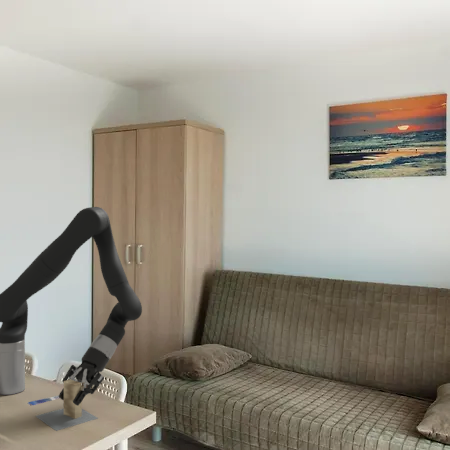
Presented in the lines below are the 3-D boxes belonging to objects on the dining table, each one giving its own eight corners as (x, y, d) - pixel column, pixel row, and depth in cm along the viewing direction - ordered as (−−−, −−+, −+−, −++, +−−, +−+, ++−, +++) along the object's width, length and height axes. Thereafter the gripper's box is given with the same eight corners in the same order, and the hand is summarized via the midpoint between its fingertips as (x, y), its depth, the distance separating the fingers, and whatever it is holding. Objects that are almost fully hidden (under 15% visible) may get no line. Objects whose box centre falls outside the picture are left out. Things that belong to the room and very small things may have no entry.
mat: (35, 417, 155) (35, 415, 155) (75, 406, 163) (75, 404, 163) (56, 432, 144) (56, 430, 144) (98, 420, 153) (98, 418, 153)
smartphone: (80, 398, 169) (33, 409, 160) (80, 401, 169) (33, 412, 160) (71, 392, 175) (25, 402, 165) (71, 394, 175) (25, 405, 165)
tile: (63, 414, 156) (63, 381, 156) (70, 411, 158) (70, 379, 158) (75, 418, 153) (75, 385, 152) (82, 416, 155) (82, 382, 154)
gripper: (78, 342, 165) (45, 389, 156) (108, 350, 156) (75, 400, 147) (91, 355, 169) (60, 402, 160) (121, 363, 161) (90, 413, 152)
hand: (68, 401), depth 154 cm, fingers open, 6 cm apart
